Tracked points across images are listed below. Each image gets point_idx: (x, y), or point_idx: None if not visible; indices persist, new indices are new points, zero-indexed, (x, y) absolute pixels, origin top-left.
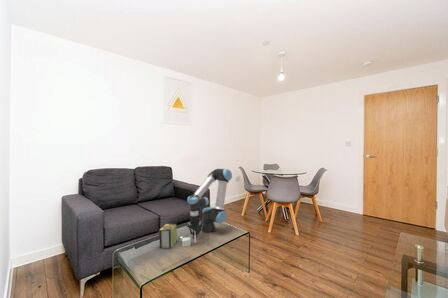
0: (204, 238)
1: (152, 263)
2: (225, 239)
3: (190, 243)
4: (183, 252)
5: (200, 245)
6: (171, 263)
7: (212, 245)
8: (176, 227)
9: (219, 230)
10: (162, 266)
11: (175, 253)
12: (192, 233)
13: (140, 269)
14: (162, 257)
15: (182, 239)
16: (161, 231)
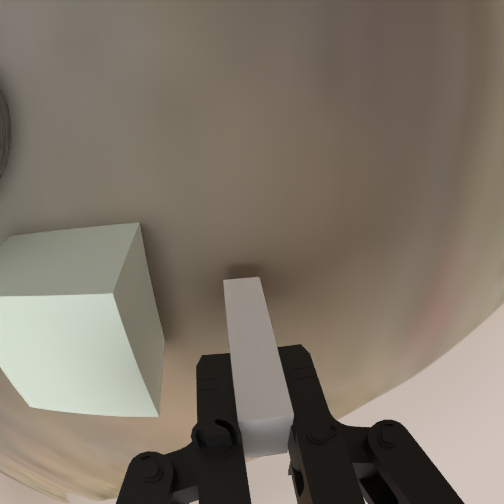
0: (427, 79)
1: (15, 460)
2: None
3: (158, 345)
4: (131, 434)
5: (319, 339)
6: (113, 484)
7: (444, 335)
8: None
9: None
10: (82, 486)
11: (68, 431)
12: (196, 494)
13: (8, 470)
14: (17, 440)
15: (2, 368)
16: None
